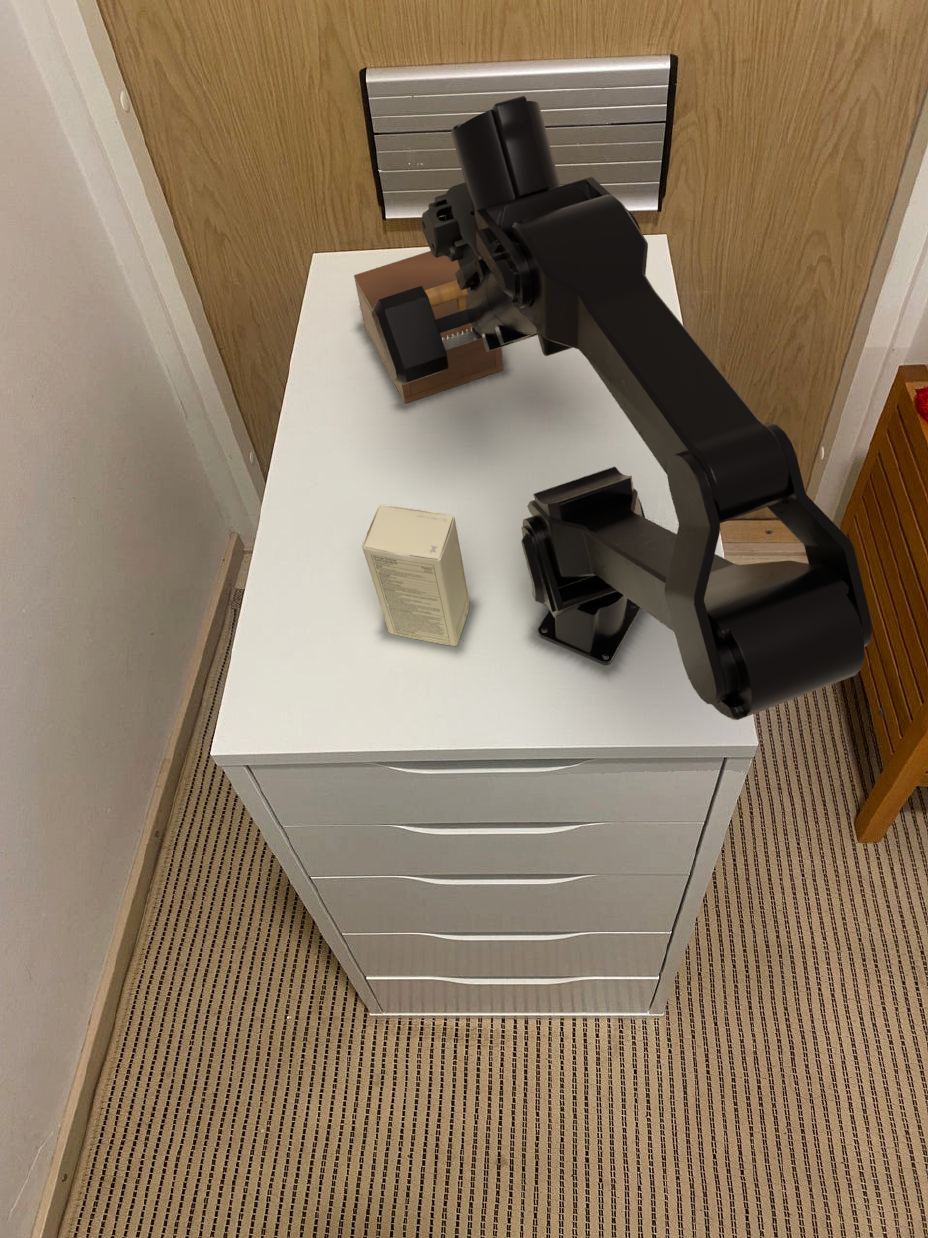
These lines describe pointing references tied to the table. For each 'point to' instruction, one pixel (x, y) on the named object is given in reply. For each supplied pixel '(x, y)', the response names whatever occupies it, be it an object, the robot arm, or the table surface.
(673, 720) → the table surface
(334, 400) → the table surface
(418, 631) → the cosmetic box
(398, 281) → the lid
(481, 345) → the wooden box
